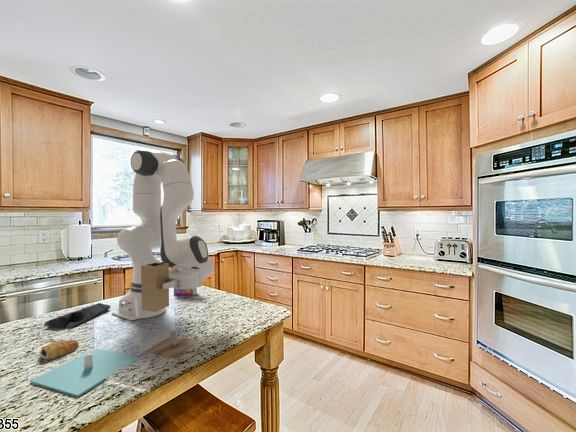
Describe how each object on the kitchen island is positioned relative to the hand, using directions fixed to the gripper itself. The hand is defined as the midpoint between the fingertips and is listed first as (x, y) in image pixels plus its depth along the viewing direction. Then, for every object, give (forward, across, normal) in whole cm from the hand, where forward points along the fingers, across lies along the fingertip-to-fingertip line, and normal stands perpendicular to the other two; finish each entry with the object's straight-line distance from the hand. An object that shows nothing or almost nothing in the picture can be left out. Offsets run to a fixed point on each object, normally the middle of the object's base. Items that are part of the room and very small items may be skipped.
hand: (153, 285), depth 87 cm
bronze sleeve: (-1, 0, +7) cm, 7 cm away
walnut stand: (-5, +3, +22) cm, 22 cm away
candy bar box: (-54, -31, +22) cm, 66 cm away
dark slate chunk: (-14, -53, +23) cm, 60 cm away
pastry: (+9, -30, +22) cm, 38 cm away
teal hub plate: (+13, -11, +22) cm, 28 cm away
